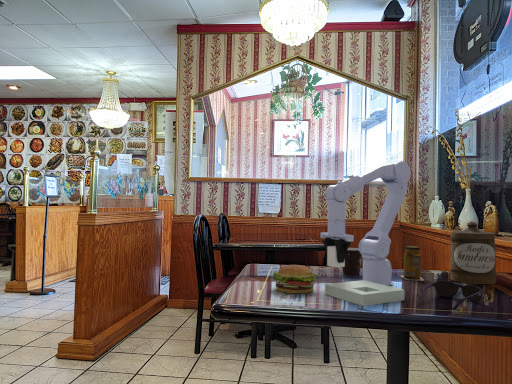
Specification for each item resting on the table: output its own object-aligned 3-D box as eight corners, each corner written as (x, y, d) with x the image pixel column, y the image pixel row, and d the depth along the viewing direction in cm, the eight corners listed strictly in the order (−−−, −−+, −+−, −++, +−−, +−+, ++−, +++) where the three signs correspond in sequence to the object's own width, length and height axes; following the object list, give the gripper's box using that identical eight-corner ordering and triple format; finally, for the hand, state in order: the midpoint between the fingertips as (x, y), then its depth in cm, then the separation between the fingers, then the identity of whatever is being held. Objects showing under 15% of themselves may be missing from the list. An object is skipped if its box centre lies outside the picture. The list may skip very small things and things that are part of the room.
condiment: (419, 277, 153) (419, 246, 154) (425, 281, 145) (425, 248, 146) (400, 276, 155) (400, 245, 155) (404, 280, 146) (404, 247, 147)
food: (319, 287, 130) (319, 263, 131) (313, 296, 117) (313, 269, 117) (278, 284, 134) (278, 260, 134) (268, 292, 121) (268, 266, 121)
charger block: (336, 265, 134) (336, 245, 134) (344, 266, 130) (344, 246, 131) (327, 265, 132) (327, 246, 132) (335, 267, 128) (335, 247, 129)
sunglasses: (485, 303, 113) (485, 286, 113) (465, 313, 102) (465, 293, 102) (437, 295, 122) (437, 279, 123) (414, 303, 112) (414, 285, 112)
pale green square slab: (364, 289, 128) (364, 280, 128) (404, 300, 114) (404, 289, 114) (325, 294, 120) (325, 284, 120) (362, 306, 106) (362, 294, 106)
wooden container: (454, 283, 142) (454, 221, 142) (446, 276, 156) (446, 220, 157) (501, 286, 138) (501, 222, 138) (489, 279, 152) (488, 221, 153)
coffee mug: (348, 271, 163) (348, 247, 163) (366, 274, 157) (366, 249, 157) (331, 274, 155) (331, 249, 156) (349, 277, 149) (350, 251, 149)
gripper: (313, 219, 136) (313, 259, 136) (341, 221, 123) (341, 265, 123) (329, 219, 140) (329, 258, 139) (358, 221, 127) (358, 263, 126)
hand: (336, 261), depth 131 cm, fingers closed on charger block, 4 cm apart
